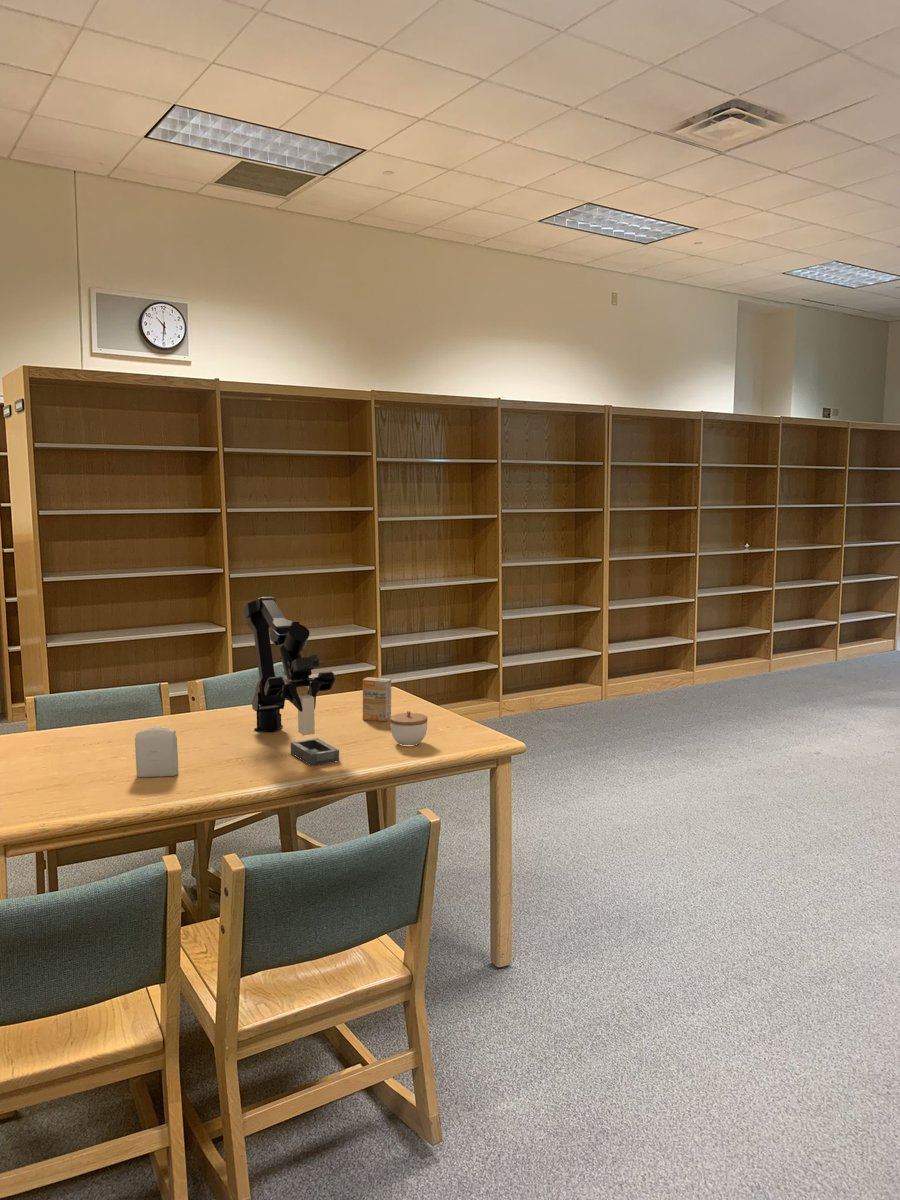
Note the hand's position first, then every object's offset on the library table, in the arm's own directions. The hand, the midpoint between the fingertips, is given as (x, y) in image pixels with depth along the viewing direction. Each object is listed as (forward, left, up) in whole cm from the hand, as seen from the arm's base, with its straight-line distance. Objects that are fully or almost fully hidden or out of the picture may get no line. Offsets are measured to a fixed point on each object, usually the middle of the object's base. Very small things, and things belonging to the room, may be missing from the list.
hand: (307, 710), depth 231 cm
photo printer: (-31, -24, -14) cm, 41 cm away
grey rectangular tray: (0, +2, -14) cm, 14 cm away
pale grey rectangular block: (-1, +1, -7) cm, 7 cm away
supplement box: (+1, +45, -14) cm, 48 cm away
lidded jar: (+20, +22, -14) cm, 33 cm away
